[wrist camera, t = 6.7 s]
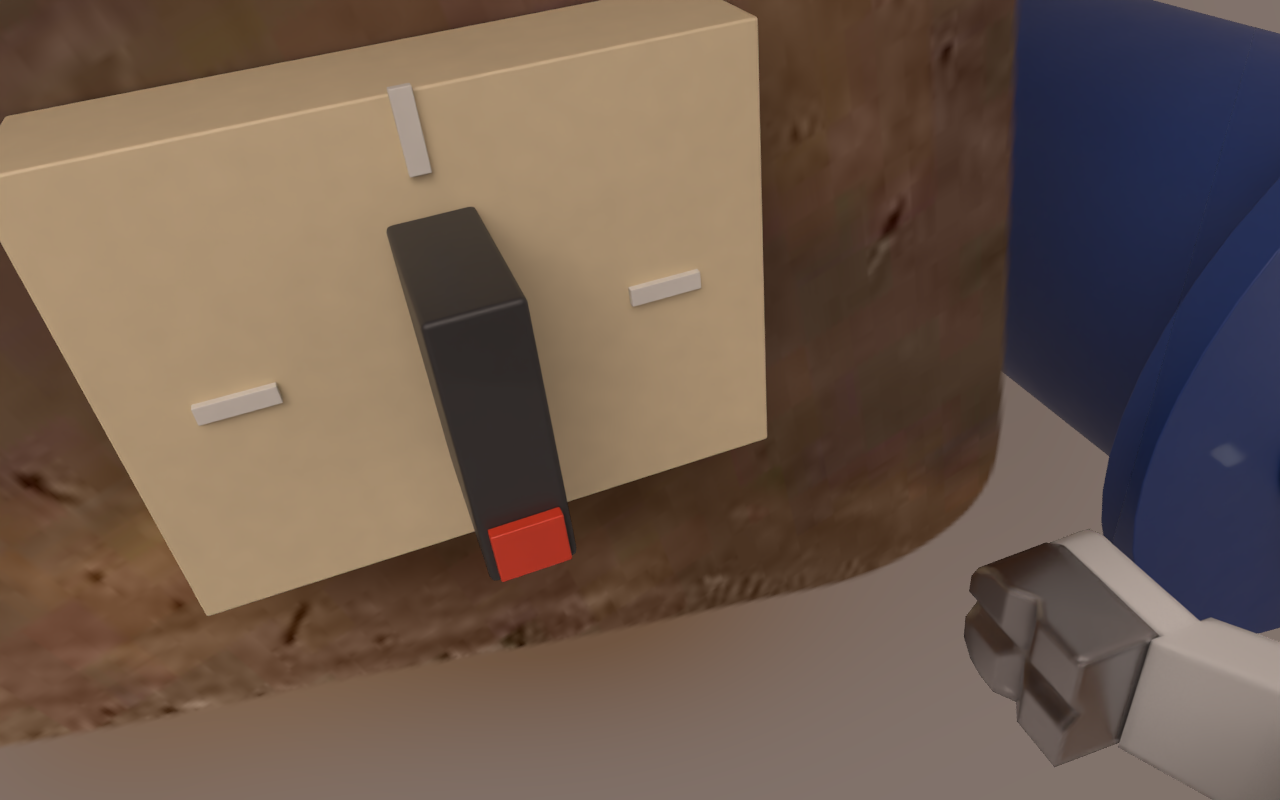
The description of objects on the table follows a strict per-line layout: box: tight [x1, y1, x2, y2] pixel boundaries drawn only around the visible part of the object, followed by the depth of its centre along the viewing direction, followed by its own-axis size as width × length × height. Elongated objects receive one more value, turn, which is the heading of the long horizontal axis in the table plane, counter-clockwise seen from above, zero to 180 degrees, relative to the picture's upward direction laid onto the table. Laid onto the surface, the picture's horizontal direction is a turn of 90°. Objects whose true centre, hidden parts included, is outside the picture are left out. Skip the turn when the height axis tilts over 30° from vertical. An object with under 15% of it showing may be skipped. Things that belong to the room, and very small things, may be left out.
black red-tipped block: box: [386, 207, 576, 582], centre depth 15 cm, size 5×2×4 cm, turn 6°
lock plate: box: [0, 0, 767, 616], centre depth 18 cm, size 12×9×3 cm
